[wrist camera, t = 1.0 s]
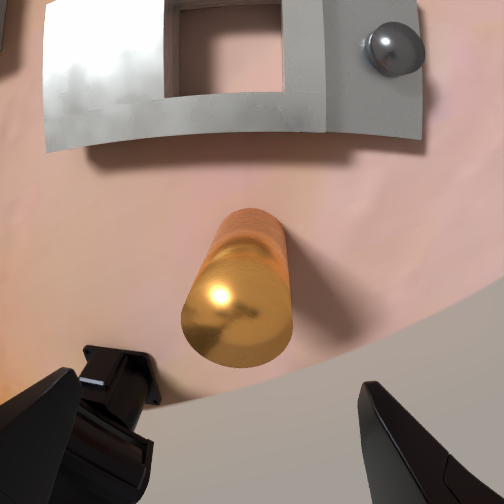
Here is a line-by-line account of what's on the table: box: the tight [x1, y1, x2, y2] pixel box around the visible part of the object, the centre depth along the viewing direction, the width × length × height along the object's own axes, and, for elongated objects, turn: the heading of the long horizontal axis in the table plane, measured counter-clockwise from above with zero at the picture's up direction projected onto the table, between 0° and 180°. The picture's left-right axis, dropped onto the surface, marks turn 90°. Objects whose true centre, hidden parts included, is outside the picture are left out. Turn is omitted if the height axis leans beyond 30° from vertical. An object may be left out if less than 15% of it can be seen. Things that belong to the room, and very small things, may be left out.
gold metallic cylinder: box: [181, 208, 293, 368], centre depth 17 cm, size 4×4×9 cm
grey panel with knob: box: [43, 0, 425, 153], centre depth 15 cm, size 10×22×3 cm, turn 91°
